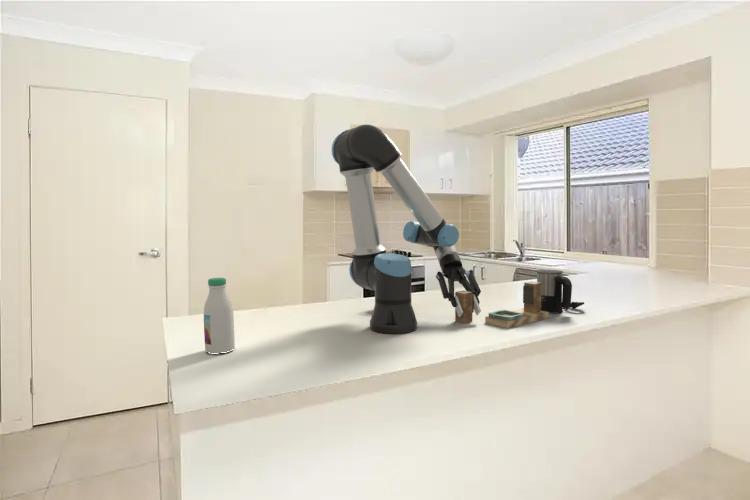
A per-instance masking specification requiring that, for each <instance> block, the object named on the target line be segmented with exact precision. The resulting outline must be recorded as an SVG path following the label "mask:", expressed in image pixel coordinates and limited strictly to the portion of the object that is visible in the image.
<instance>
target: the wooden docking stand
mask: <svg viewBox="0 0 750 500" xmlns="http://www.w3.org/2000/svg"><path fill="white" fill-rule="evenodd" d="M522 288H523V289H522V291H523V293H522V294H523V295H522V303H523V308H519V309H516V310H509V309H500V310H494V311H490V312H488V315H487V316H485V317H484V318H485V319H484V323H485V324H489V325H493V326H498V327H502V328H505V329H510V328H514V327H518V326H521V325H522V326H523V325H525V324H530V323H532V322H533V323H535V322H537V321H541V320H546V319H549V318H550V313H549V312H546V311H541V283H540V282H537V281H525V282H524V285H523V287H522Z"/></svg>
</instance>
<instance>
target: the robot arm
mask: <svg viewBox="0 0 750 500" xmlns="http://www.w3.org/2000/svg"><path fill="white" fill-rule="evenodd" d="M331 154H332V155H331V156H332V158H333V160H334V161H335V163H337V165H338V167H339V168H338V169H339V173H340V174H341V175H342V176H343V177H344V178H345V182H346V189H347V190H346V191H347V197H348V202H349V203H348V204H349V210H350V219H351V223H352V224H351V225H352V230H353V239H354V246H355V248H354V249H353V251H352V252H351V257H352V260H351V262H350V265H349V268H348V269H349V275H350V278H351V280H352V281H353V282H354V283H355V284H356V285H357V286H359V287H360V288H362V289H365V290H369V291H374V307H373V311H372V313H371V317H370V320H369V329H370V330H371V331H372V332H376V333H379V334H407V333H411V332H414V331H416V330H417V329H418V321H417V318H416V314H415V311H414V308H413V304H412V272H413V270H412V261H411V259H410V258H409V257H408V256H406V255H403V254H400V253H399V254H398V253H392V252H391V253H389V252H387V249H386V247H385V246H383V245H382V243H381V239H380V232H379V231H380V230H379V223H378V217H377V209H376V202H375V195H374V186H373V179H372V173H373V171H375V172H376V173H380V174H382V176H383V177H384V179H385V180H386V181H387V183H388V184H389V185H390V186H391V188H392V189H393V191H394V192H395V193H396V194H397V196H398V198H399V199H400V200H401V201H402V203H403V204H404V206H405V207H406V208H407V210H408V211H409V213H410V214H411V215H412V216H413V217H414V219H415V220H416V221H413V220H410V221H408V222H406V223H405V224H404V227H403V231H402V237H403V239H404V240H405V241H406V242H408V243H409V242H410V243H411V244H417V245H421V246H426V247H428V248H429V247H431V248H432V249H433V250H434V253H435V255H436V258H437V261H438V263H439V267H440V270H441V271H439V270H438V271H437V273H436V275H435V278H436V280H437V281H438V284H439V287H440V290H441V294H442V297H443V299H444V300H445V299H446V300H447V299H448V302H450V303H451V304H450V305H451V307H452V308H454V310H455V309H456V311H457V314H458V317H461V315H462V313H463V310H462V308H461V305H460V302H459V300H458V297H457V296H455V282H458V283H459V284H460V285H461V286H462V287H463V288H464V291H469V292H472V295H474V313H475V316H479V315H480V313H481V312H482V310H481V306H480V300H479V296H480V295H481V293H482V290H481V289H480V286H479V284H478V281H477V280H476V277H475V276H474V275H475V274H474V270H473V269H469V270H466V269H465V268H464V266H463V263H462V262H463V261H461V257H460V256H459V253H458V251H457V248H456V244H457V242H458V241H459V239H460V238H459V237H460V232H459V229H458V227H457V226H455V225H454V224H452V223H451V224H450V223H447V222H446V220H445V219H444V218H443V216H442V215H441V214H440V212H439V210H438V209H437V208H436V206H435V205H434V203H433V202H432V201H431V199H430V197H429V196H428V195H427V194H426V192H425V191H424V189H423V188H422V186H421V184H420V183H419V182H418V181H417V179H416V178H415V177H414V175H413V174H412V172H411V170H410V169H409V168H408V167H407V165H406V164H405V162H404V161H403V160H402V158H401V156H402V152H401V150H400V149H399V148H398V147H397V145H396V144H395V143H394V141H393V140H392V139H391V138H390V137H389V135H387V134H386V133H385V131H383V130H382V129H380V128H379V127H376V126H374V125H372V124H361V125H358V126H355V127H352V128H350V129H345V130H344V131H342V132H341V133H339V134H338V135H337V136H336V137H335V138H334V140H333V142H332V143H331ZM445 278H446V279H447V283H446V280H445Z"/></svg>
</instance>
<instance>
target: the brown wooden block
mask: <svg viewBox="0 0 750 500" xmlns="http://www.w3.org/2000/svg"><path fill="white" fill-rule="evenodd" d="M455 296H457V297H458V300H459V302H460V305H461V308H462V310H463V313H462V315H461V317H458V314H457V311H456V309H455V308H454V313H455V314H454V315H455V317H454V318H455V319H454V321H455V322H456V323H461V324H467V323H472V322H473V313H475V311H474V295H472V292H469V291H466V290H461V291H460V290H459V291H454V297H455Z"/></svg>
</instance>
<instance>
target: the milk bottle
mask: <svg viewBox="0 0 750 500" xmlns="http://www.w3.org/2000/svg"><path fill="white" fill-rule="evenodd" d="M207 285H208V286H207V287H208V289H209V291H208V295H207V298H206V301H204V302H205V303H204V306H203V331H204V333H203V334H204V349H205V352H206V351H207V352H210V353H221V352H227V351H230V350H232V349H234V350H235V349H236V346H235V345H236V344H235V343H236V342H235V341H236V340H235V338H236V337H235V322H234V321H235V319H234V307H233V304H232V301H231V299H230V297H229V295H228V293H227V289H226V286H227V279H226V278H225V277H212V278H209V279H207Z"/></svg>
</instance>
